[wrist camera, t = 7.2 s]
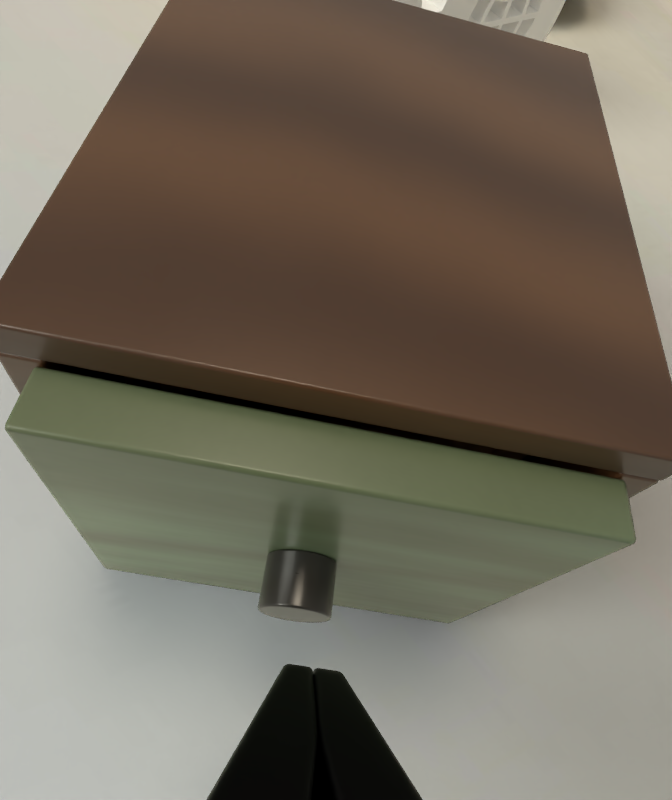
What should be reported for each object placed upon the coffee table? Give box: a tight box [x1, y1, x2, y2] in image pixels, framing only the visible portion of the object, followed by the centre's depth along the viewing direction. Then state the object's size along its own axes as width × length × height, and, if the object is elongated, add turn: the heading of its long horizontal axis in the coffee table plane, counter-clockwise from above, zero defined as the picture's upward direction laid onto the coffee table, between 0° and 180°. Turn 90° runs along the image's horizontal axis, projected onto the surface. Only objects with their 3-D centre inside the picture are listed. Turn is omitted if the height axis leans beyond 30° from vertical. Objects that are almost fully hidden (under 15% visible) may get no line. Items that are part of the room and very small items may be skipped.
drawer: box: [5, 367, 636, 623], centre depth 15 cm, size 14×10×9 cm
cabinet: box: [0, 0, 672, 498], centre depth 17 cm, size 14×12×11 cm
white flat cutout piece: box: [394, 0, 566, 42], centre depth 27 cm, size 22×2×10 cm, turn 127°
